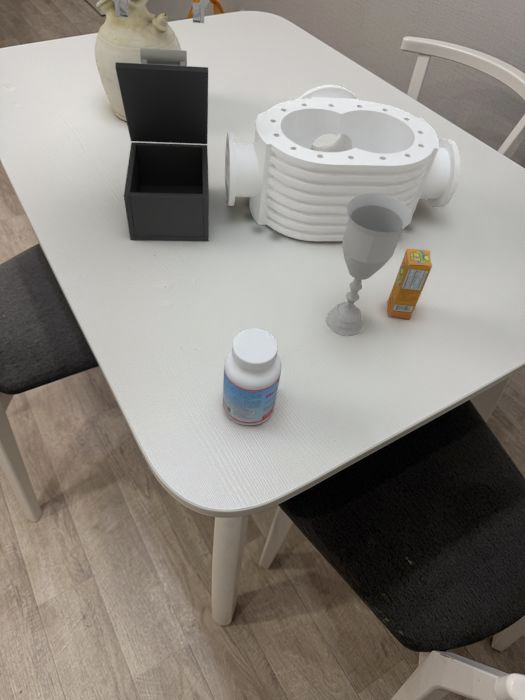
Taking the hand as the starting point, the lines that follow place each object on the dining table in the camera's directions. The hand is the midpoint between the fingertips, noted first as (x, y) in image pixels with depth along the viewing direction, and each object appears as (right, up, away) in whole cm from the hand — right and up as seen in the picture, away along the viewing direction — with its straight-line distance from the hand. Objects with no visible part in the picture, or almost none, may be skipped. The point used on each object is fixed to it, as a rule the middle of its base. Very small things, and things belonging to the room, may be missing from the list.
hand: (161, 18), depth 65 cm
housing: (+24, -17, +22) cm, 36 cm away
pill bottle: (+11, -49, -5) cm, 50 cm away
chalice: (+24, -38, +5) cm, 45 cm away
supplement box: (+32, -37, +7) cm, 49 cm away
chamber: (-2, -20, +16) cm, 26 cm away
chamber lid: (-1, -8, +7) cm, 11 cm away
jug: (-10, +5, +35) cm, 37 cm away
